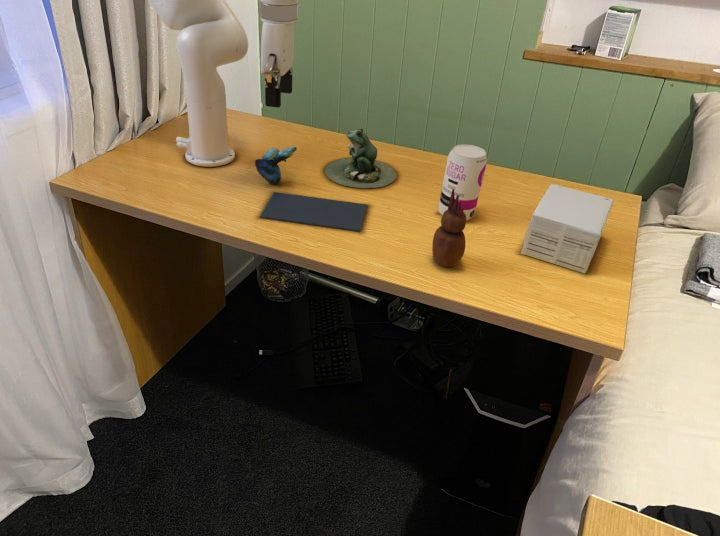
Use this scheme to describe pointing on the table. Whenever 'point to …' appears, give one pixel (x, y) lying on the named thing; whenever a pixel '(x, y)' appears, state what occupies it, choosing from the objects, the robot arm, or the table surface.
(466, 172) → the supplement can
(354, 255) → the table surface
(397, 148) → the table surface
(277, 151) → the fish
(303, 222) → the mat
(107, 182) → the table surface
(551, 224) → the supplement box
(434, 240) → the wooden figurine
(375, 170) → the frog figurine
